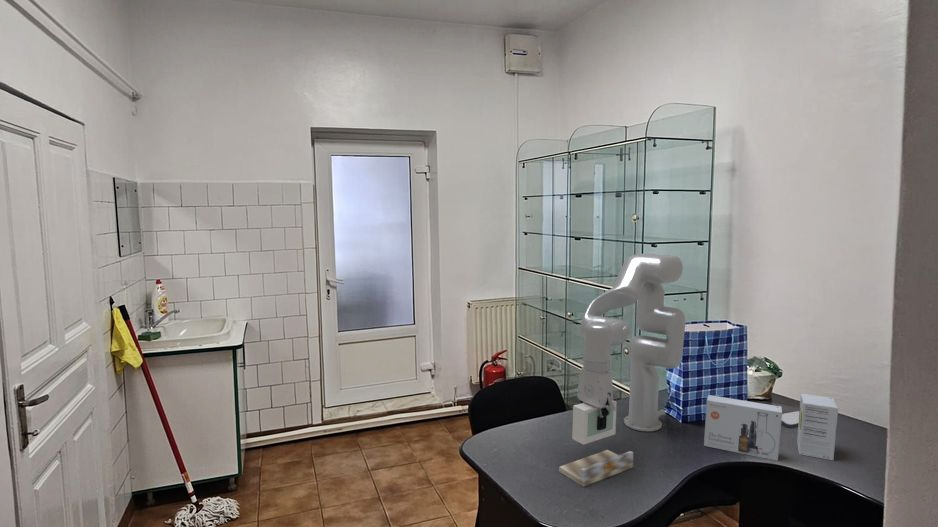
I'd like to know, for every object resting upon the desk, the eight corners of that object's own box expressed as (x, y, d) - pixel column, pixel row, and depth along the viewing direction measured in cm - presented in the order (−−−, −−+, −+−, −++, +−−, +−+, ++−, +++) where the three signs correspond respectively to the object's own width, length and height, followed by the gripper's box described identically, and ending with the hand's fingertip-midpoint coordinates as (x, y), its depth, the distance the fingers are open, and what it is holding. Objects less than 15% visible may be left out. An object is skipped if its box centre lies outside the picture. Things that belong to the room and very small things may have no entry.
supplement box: (796, 442, 181) (800, 392, 179) (829, 448, 177) (834, 397, 175) (798, 454, 172) (803, 402, 170) (834, 461, 168) (838, 407, 166)
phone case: (798, 414, 205) (767, 420, 199) (799, 410, 205) (767, 415, 199) (821, 423, 197) (789, 429, 191) (822, 419, 197) (790, 425, 191)
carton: (572, 438, 161) (573, 405, 160) (604, 428, 168) (605, 397, 167) (583, 444, 157) (584, 410, 156) (615, 434, 164) (617, 401, 163)
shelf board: (607, 454, 173) (607, 439, 172) (633, 468, 164) (634, 452, 163) (559, 471, 162) (559, 456, 161) (584, 487, 153) (584, 471, 153)
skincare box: (703, 447, 178) (706, 399, 176) (704, 440, 182) (707, 393, 180) (778, 462, 168) (782, 411, 166) (778, 454, 173) (782, 405, 171)
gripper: (566, 360, 165) (565, 418, 167) (609, 375, 151) (607, 439, 153) (585, 356, 169) (583, 413, 171) (628, 370, 155) (626, 433, 157)
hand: (594, 425), depth 162 cm, fingers closed on carton, 4 cm apart
